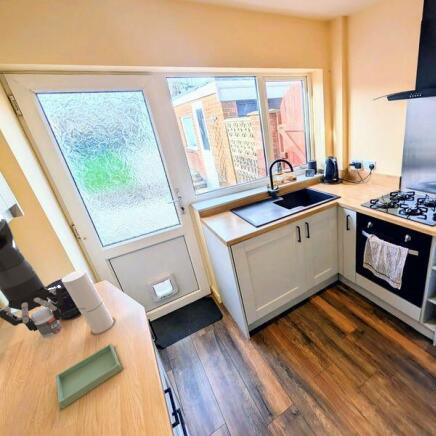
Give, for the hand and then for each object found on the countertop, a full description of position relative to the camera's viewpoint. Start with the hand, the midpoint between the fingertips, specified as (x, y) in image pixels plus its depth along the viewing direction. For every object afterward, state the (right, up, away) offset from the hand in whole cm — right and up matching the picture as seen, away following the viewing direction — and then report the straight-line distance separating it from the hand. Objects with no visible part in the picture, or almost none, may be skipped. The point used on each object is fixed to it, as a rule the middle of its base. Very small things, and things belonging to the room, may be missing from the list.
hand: (47, 323), depth 75 cm
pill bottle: (0, -4, +2) cm, 4 cm away
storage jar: (-21, -9, +33) cm, 40 cm away
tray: (+10, -18, +4) cm, 21 cm away
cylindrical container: (-1, -11, +23) cm, 26 cm away
